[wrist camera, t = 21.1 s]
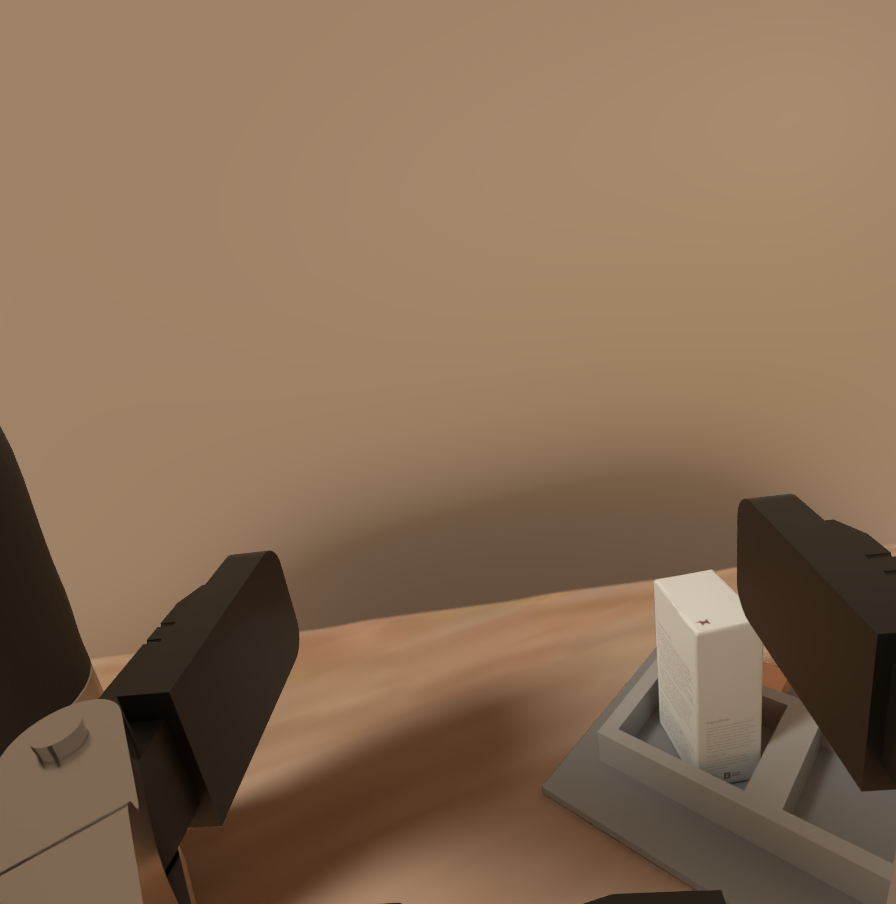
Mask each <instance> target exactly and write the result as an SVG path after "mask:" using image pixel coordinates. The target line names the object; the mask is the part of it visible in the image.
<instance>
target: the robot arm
mask: <svg viewBox="0 0 896 904" xmlns="http://www.w3.org/2000/svg"><path fill="white" fill-rule="evenodd" d="M737 518H738V519H737V588H738V594H739V599H740V603H741V606H742V609H743V612H744V614H745V616H746V618H747V620H748V622H749V623H750V625H751V626H752V628H753V629H754V631H755V632H756V634H757V635H758V637H759V638H760V640H761V641H762V643H763V644H764V646H765V647H766V649H767V650H768V652H769V653H770V655H771V656H772V658H773V659H774V661H775V662H776V664H777V665H778V667H779V668H780V670H781V671H782V673H783V674H784V676H785V677H786V679H787V680H788V682H789V683H790V685H791V686H792V688H793V689H794V691H795V692H796V694H797V695H798V697H799V698H800V700H801V701H802V703H803V704H804V706H805V707H806V709H807V711H808V712H809V714H810V715H811V717H812V718H813V720H814V721H815V723H816V724H817V726H818V727H819V729H820V730H821V732H822V733H823V735H824V736H825V738H826V739H827V741H828V742H829V744H830V745H831V747H832V748H833V750H834V751H835V753H836V754H837V756H838V757H839V759H840V760H841V762H842V763H843V765H844V766H845V768H846V769H847V771H848V772H849V774H850V775H851V777H852V778H853V780H854V781H855V783H856V784H857V786H858V787H859V789H860V790H861V792H863V791H880V790H896V556H895V557H892V556H891V552H889V551H888V550H887V549H886V548H884V547H883V546H882V545H881V544H879V543H878V542H877V541H876V540H874V539H873V538H872V537H871V536H869V535H868V534H867V533H864V532H862V531H859V530H857V529H855V528H852V527H850V526H847V525H845V524H843V523H840V522H838V521H836V520H826V521H824V520H823V519H822V518H821V517H820V516H819V515H817V514H816V513H815V512H814V511H813V510H812V509H811V508H809V507H808V506H807V505H806V504H805V503H804V502H802V501H801V500H800V499H799V498H798V497H797V496H795V495H793V494H786V495H776V496H767V497H758V498H750V499H743V500H742V501H741V502H740V504H739V507H738V516H737ZM298 649H299V629H298V623H297V619H296V615H295V612H294V608H293V605H292V602H291V598H290V595H289V591H288V588H287V584H286V581H285V577H284V574H283V570H282V567H281V563H280V561H279V558H278V557H277V555H276V554H275V553H274V552H273V551H263V552H253V553H244V554H235V555H230V556H228V557H227V558H226V559H225V560H224V562H223V563H222V564H221V566H220V567H219V568H218V569H217V571H216V572H215V573H214V574H213V576H212V577H211V578H210V579H209V581H208V582H207V583H206V584H205V585H202V586H201V587H199V588H198V589H196V590H195V591H194V592H192V593H191V594H190V595H188V596H187V597H185V598H184V599H183V600H181V601H180V602H178V603H177V604H176V606H175V607H174V608H173V609H172V610H171V612H170V613H169V614H168V615H167V616H166V618H165V619H164V620H163V621H162V622H161V627H158V628H156V630H155V631H154V632H153V633H152V635H151V636H150V637H149V638H148V639H147V644H144V645H142V647H141V648H140V649H139V650H138V651H137V653H136V654H135V655H134V656H133V657H132V659H131V660H130V661H129V662H128V663H127V665H126V666H125V667H124V668H123V669H122V671H121V672H120V673H119V674H118V675H117V677H116V678H115V679H114V680H113V681H112V683H111V684H110V685H109V686H108V687H107V689H106V690H105V691H103V689H102V687H101V684H100V682H99V680H98V677H97V675H96V673H95V671H94V668H93V666H92V664H91V661H90V658H89V656H88V653H87V651H86V649H85V647H84V644H83V642H82V639H81V637H80V634H79V631H78V628H77V625H76V622H75V618H74V615H73V612H72V609H71V606H70V603H69V600H68V597H67V595H66V592H65V589H64V587H63V585H62V582H61V580H60V577H59V575H58V573H57V570H56V568H55V565H54V563H53V560H52V558H51V555H50V552H49V550H48V547H47V545H46V542H45V539H44V536H43V534H42V531H41V528H40V525H39V522H38V519H37V516H36V513H35V510H34V508H33V505H32V502H31V499H30V496H29V493H28V490H27V487H26V484H25V481H24V478H23V476H22V474H21V471H20V468H19V466H18V463H17V461H16V458H15V455H14V453H13V450H12V448H11V447H10V444H9V442H8V440H7V439H6V437H5V434H4V433H3V431H2V429H1V427H0V904H196V900H195V896H194V892H193V888H192V884H191V880H190V876H189V872H188V868H187V864H186V860H185V858H184V855H183V853H182V851H181V848H180V846H179V845H180V843H181V841H182V839H183V837H184V835H185V833H186V831H187V829H188V828H189V827H206V826H222V824H223V822H224V820H225V817H226V815H227V813H228V811H229V808H230V806H231V804H232V802H233V799H234V797H235V795H236V793H237V790H238V788H239V786H240V784H241V781H242V779H243V777H244V775H245V772H246V770H247V768H248V766H249V763H250V761H251V759H252V757H253V755H254V752H255V750H256V748H257V746H258V743H259V741H260V739H261V737H262V734H263V732H264V730H265V728H266V725H267V723H268V721H269V719H270V716H271V714H272V712H273V710H274V707H275V705H276V703H277V701H278V698H279V696H280V694H281V692H282V690H283V687H284V685H285V683H286V681H287V678H288V676H289V674H290V672H291V669H292V667H293V665H294V663H295V660H296V658H297V654H298ZM387 904H401V903H387ZM584 904H726V902H725V899H724V896H723V893H722V890H705V891H680V892H656V893H632V894H611V895H608V896H605V897H602V898H599V899H596V900H593V901H590V902H587V903H584ZM887 904H896V853H895V859H894V864H893V870H892V876H891V882H890V887H889V893H888V899H887Z"/></svg>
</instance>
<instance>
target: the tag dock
mask: <svg viewBox="0 0 896 904" xmlns="http://www.w3.org/2000/svg"><path fill="white" fill-rule="evenodd" d="M542 790H543V794H545V795H546V796H548V797H550V798H551V799H553V800H554V801H556V802H558V803H559V804H561V805H562V806H564V807H565V808H567V809H569V810H570V811H572V812H573V813H575V814H577V815H578V816H580V817H581V818H583V819H584V820H586V821H588V822H589V823H591V824H592V825H594V826H596V827H597V828H599V829H600V830H602V831H603V832H605V833H607V834H608V835H610V836H611V837H613V838H615V839H616V840H618V841H619V842H621V843H622V844H624V845H626V846H627V847H629V848H630V849H632V850H634V851H635V852H637V853H638V854H640V855H641V856H643V857H645V858H646V859H648V860H649V861H651V862H653V863H654V864H656V865H657V866H659V867H660V868H662V869H664V870H665V871H667V872H668V873H670V874H672V875H673V876H675V877H676V878H678V879H679V880H681V881H683V882H684V883H686V884H687V885H689V886H691V887H692V888H694V889H695V890H697V891H705V890H722V893H723V896H724V899H725V902H726V904H887V899H888V893H889V887H890V882H891V876H892V870H893V864H894V859H895V853H896V790H880V791H863V792H861V790H860V789H859V787H858V786H857V784H856V783H855V781H854V780H853V778H852V777H851V775H850V774H849V772H848V771H847V769H846V768H845V766H844V765H843V763H842V762H841V760H840V759H839V757H838V756H837V754H836V753H835V751H834V750H833V748H832V747H831V745H830V744H829V742H828V741H827V739H826V738H825V736H824V735H823V733H822V732H821V730H820V729H819V727H818V726H817V724H816V723H815V721H814V720H813V718H812V717H811V715H810V714H809V712H808V711H807V709H806V707H805V706H804V704H803V703H802V701H801V700H800V698H799V697H798V695H797V694H796V692H795V691H794V689H793V688H792V686H791V685H790V683H789V682H788V680H787V679H786V677H785V676H784V674H783V673H782V671H781V670H780V668H779V667H776V666H773V665H770V664H767V663H764V662H763V681H762V723H761V759H760V761H759V763H758V765H757V767H756V769H755V771H754V773H753V775H752V777H751V779H750V780H744V781H739V782H734V783H727V782H725V781H723V780H721V779H719V778H717V777H715V776H713V775H711V774H709V773H707V772H705V771H703V770H701V769H699V768H696V767H694V766H692V765H690V764H688V763H686V762H684V761H682V759H681V758H680V756H679V754H678V752H677V751H676V749H675V747H674V745H673V744H672V742H671V740H670V738H669V737H668V735H667V733H666V731H665V730H664V728H663V726H662V725H661V723H660V713H659V686H658V664H657V647H656V648H655V650H654V651H653V652H652V653H651V655H650V656H649V657H648V658H647V659H646V661H645V662H644V663H643V664H642V665H641V667H640V668H639V669H638V670H637V672H636V673H635V674H634V675H633V676H632V678H631V679H630V680H629V681H628V682H627V684H626V685H625V686H624V687H623V689H622V690H621V691H620V692H619V693H618V695H617V696H616V697H615V698H614V700H613V701H612V702H611V703H610V704H609V706H608V707H607V708H606V709H605V710H604V712H603V713H602V714H601V715H600V717H599V718H598V719H597V720H596V721H595V723H594V724H593V725H592V726H591V728H590V729H589V730H588V731H587V732H586V734H585V735H584V736H583V737H582V738H581V740H580V741H579V742H578V743H577V745H576V746H575V747H574V748H573V749H572V751H571V752H570V753H569V754H568V756H567V757H566V758H565V759H564V760H563V762H562V763H561V764H560V765H559V766H558V768H557V769H556V770H555V771H554V773H553V774H552V775H551V776H550V777H549V779H548V780H547V781H546V782H545V784H544V785H543V786H542Z"/></svg>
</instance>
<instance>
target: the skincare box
mask: <svg viewBox="0 0 896 904" xmlns="http://www.w3.org/2000/svg"><path fill="white" fill-rule="evenodd" d="M654 590H655V617H656V641H657V664H658V686H659V713H660V723H661V725H662V726H663V728H664V730H665V731H666V733H667V735H668V737H669V738H670V740H671V742H672V744H673V745H674V747H675V749H676V751H677V752H678V754H679V756H680V758H681V759H682V761H684V762H686V763H688V764H690V765H692V766H694V767H696V768H699V769H701V770H703V771H705V772H707V773H709V774H711V775H713V776H715V777H717V778H719V779H721V780H723V781H725V782H727V783H734V782H739V781H744V780H750V779H751V777H752V775H753V773H754V771H755V769H756V767H757V765H758V763H759V761H760V759H761V723H762V681H763V643H762V641H761V640H760V638H759V637H758V635H757V634H756V632H755V631H754V629H753V628H752V626H751V625H750V623H749V622H748V620H747V618H746V616H745V614H744V612H743V609H742V606H741V603H740V599H739V595H738V594H737V593H736V592H734V591H733V590H732V589H731V588H730V587H729V586H728V585H727V584H726V583H725V582H724V581H723V580H722V579H721V578H720V577H719V576H718V575H717V574H716V573H715V572H714V571H713V570H707V571H702V572H696V573H691V574H686V575H680V576H674V577H669V578H663V579H657V580H655V581H654Z"/></svg>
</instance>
